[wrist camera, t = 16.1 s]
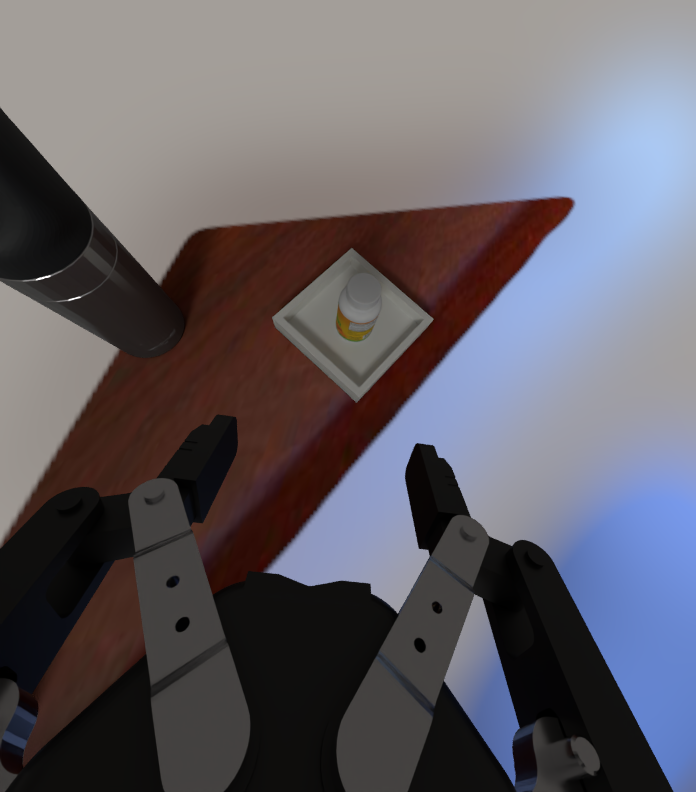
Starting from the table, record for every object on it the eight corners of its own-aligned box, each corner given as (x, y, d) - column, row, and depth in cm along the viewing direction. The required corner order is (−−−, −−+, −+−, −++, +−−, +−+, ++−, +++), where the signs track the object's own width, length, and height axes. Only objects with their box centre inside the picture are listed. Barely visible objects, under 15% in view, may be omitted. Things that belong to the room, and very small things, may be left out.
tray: (275, 327, 42) (272, 317, 39) (349, 261, 46) (351, 248, 43) (356, 402, 41) (359, 397, 38) (425, 328, 45) (433, 319, 42)
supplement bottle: (335, 308, 43) (340, 265, 33) (371, 310, 43) (387, 268, 34) (335, 342, 41) (340, 308, 32) (372, 344, 42) (388, 310, 33)
